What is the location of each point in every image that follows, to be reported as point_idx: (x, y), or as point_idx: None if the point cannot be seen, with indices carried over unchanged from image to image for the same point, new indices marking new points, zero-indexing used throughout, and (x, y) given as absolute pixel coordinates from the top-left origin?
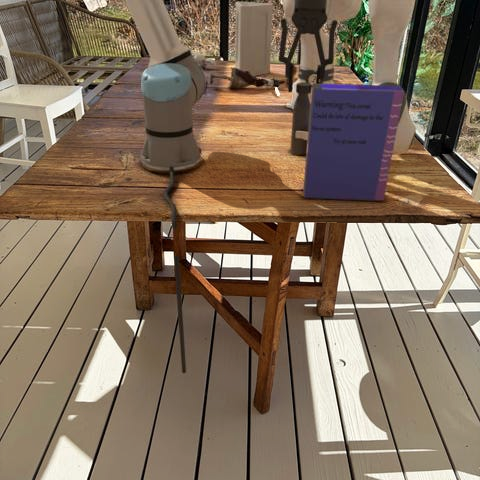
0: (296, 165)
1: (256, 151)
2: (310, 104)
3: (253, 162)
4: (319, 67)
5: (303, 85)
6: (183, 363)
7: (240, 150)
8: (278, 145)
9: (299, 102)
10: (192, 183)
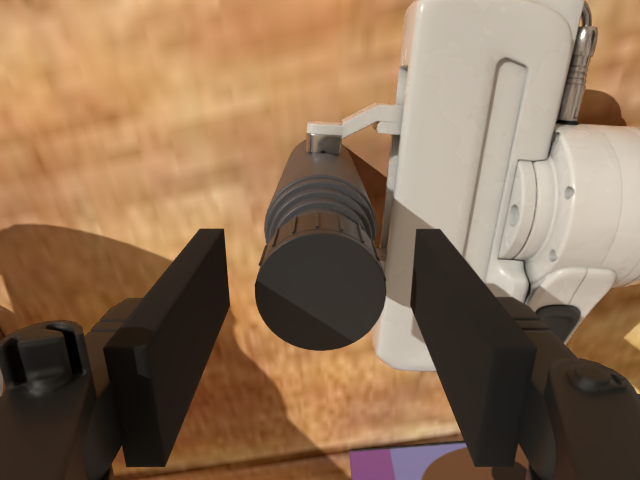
0: None
1: (154, 194)
2: (373, 237)
3: None
4: (498, 461)
5: (318, 339)
6: None
7: (90, 196)
8: (227, 103)
9: None
10: None
